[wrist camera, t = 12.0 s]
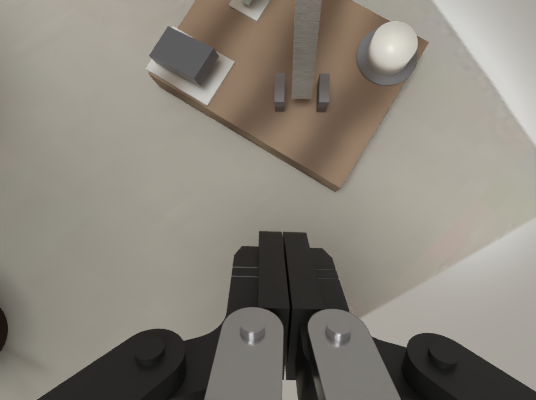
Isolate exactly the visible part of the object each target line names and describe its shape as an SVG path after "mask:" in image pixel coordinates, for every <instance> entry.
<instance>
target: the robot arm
mask: <svg viewBox="0 0 536 400" xmlns="http://www.w3.org/2000/svg"><path fill="white" fill-rule="evenodd" d="M284 367H285V368H284ZM284 369H286V380H296V384H297V394H298V400H536V392H535V391H534V390H532V389H531V388H529V387H527V386H526V385H524V384H523V383H521V382H519V381H518V380H516V379H514V378H513V377H511V376H510V375H508V374H506V373H505V372H503V371H502V370H500V369H499V368H497V367H495V366H494V365H492V364H490V363H489V362H487V361H486V360H484V359H483V358H481V357H479V356H478V355H476V354H475V353H473V352H471V351H470V350H468V349H467V348H465V347H463V346H462V345H460V344H458V343H457V342H455V341H453V340H451V339H449V338H447V337H445V336H442V335H438V334H433V333H422V334H418V335H415V336H414V337H412V338H411V339H410V340H409V342H408V345H407V347H402V346H399V345H395V344H392V343H388V342H384V341H382V340H378V339H376V338H374V337H372V336H371V335H370V333H369V330H368V329H367V327H366V325H365V324H364V323H363V321H361V320H360V319H359V318H358V317H356V316H355V315H353V314H351V313H350V312H349V309H348V306H347V303H346V300H345V296H344V293H343V290H342V287H341V284H340V281H339V280H338V275H337V272H336V271H335V266H334V263H333V260H332V257H330V256H329V255H328V254H327V253H326V252H325V251H324V250H323V249H322V248H310V247H309V243H308V238H307V234H306V233H301V232H283V237H282V232H269V231H259V247H254V246H242V247H241V248H240V249H239V250H238V252H237V253H236V254H235V255H234V261H233V269H232V277H231V284H230V292H229V299H228V307H227V313H226V317H225V319H224V321H223V322H222V324H221V325H220V326H219V327H218V328H216V329H215V330H214V331H212V332H211V333H209V334H206V335H204V336H201V337H198V338H194V339H190V340H186V341H183V340H182V339H181V337H180V336H179V335H178V334H176V333H175V332H173V331H170V330H166V329H151V330H146V331H143V332H140V333H138V334H136V335H134V336H132V337H130V338H129V339H127V340H126V341H124V342H123V343H121V344H120V345H118V346H117V347H115V348H114V349H112V350H111V351H109V352H108V353H106V354H105V355H103V356H102V357H100V358H99V359H97V360H96V361H94V362H93V363H91V364H90V365H88V366H87V367H85V368H84V369H82V370H81V371H79V372H78V373H76V374H75V375H73V376H72V377H70V378H69V379H67V380H66V381H64V382H63V383H61V384H60V385H58V386H57V387H55V388H54V389H52V390H51V391H49V392H48V393H46V394H45V395H43V396H42V397H40V398H39V399H37V400H282V380H283V379H284Z"/></svg>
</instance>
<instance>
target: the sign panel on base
mask: <svg viewBox="0 0 536 400" xmlns="http://www.w3.org/2000/svg"><path fill="white" fill-rule="evenodd" d="M241 1H242V2H244V3H245V4H246V5H248V6H249V4H250V3H251V1H252V0H241Z"/></svg>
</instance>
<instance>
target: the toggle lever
mask: <svg viewBox="0 0 536 400" xmlns="http://www.w3.org/2000/svg"><path fill="white" fill-rule="evenodd" d="M321 2H322V0H295V17H294V44H293V71H292V99H311V97H312V87H313V78H314V68H315V59H316V49H317V40H318V30H319V21H320V11H321Z"/></svg>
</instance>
